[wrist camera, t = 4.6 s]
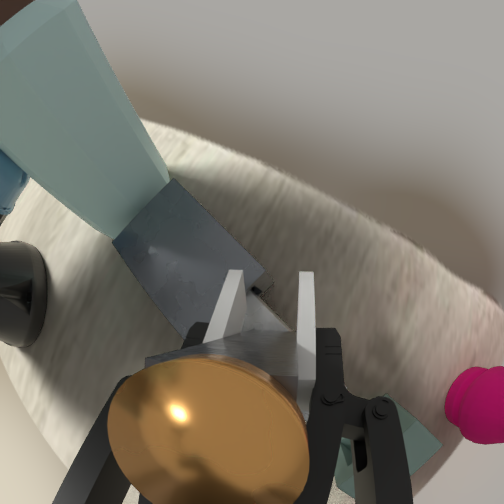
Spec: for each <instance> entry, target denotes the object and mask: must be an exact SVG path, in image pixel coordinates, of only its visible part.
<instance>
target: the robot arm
mask: <svg viewBox="0 0 504 504" xmlns="http://www.w3.org/2000/svg"><path fill="white" fill-rule="evenodd" d="M29 179H30V176H29V175H28V174H27V173H26V172H25V171H23V170H22V169H21V168H20V167H19V166H18V165H17V164H16V163H15V162H13V161H12V160H11V159H10V158H9V157H8V156H7V155H6V154H5V153H4V152H3V151H2V150H1V149H0V226H1V224H2V223H3V221H4V220H5V218H6V217H7V215H8V214H10V213H11V212H12V210H13V209H14V206H15V202H16V200H17V199H18V197H19V196H20V194H21V193H22V191H23V190H24V188H25V187H26V185H27V184H28V182H29ZM46 302H47V282H46V273H45V268H44V264H43V260H42V258H41V255H40V253H39V252H38V250H37V249H36V248H35V247H34V246H33V245H31V244H28V243H25V242H22V241H11V242H0V341H3V342H4V343H6V344H8V345H10V346H14V347H26V346H29V345H31V344H32V343H33V342H34V341H35V340H36V338H37V337H38V335H39V333H40V330H41V328H42V325H43V321H44V316H45V311H46ZM246 309H247V303H246V294H245V285H244V276H243V270H229V271H228V274H227V277H226V280H225V282H224V285H223V288H222V291H221V293H220V296H219V299H218V302H217V304H216V307H215V310H214V313H213V315H212V318H211V321H210V323H206V322H195V323H194V324H193V325H192V326H191V327H190V328H189V331H188V333H187V335H186V339H185V340H184V343H183V345H182V348H181V349H184V348H188V347H191V346H195V345H199V344H203V343H206V342H210V341H213V340H217V339H220V338H224V337H227V336H231V335H234V334H237V333H240V332H241V329H242V325H243V321H244V317H245V313H246ZM296 336H297V354H298V376H299V377H298V389H297V400H296V403H297V404H298V406H299V408H300V410H309V416H308V420H307V424H306V428H307V434H308V447H309V473H308V478H307V482H306V484H305V486H304V489H303V491H302V492H301V494H300V495H299V497H298V498H297V500H296V501H295V502H294V503H293V504H327V501H328V497H329V494H330V490H331V486H332V482H333V477H334V473H335V469H336V464H337V459H338V454H339V449H340V444H341V438H342V437H343V438H347V439H350V443H351V452H352V463H353V475H354V489H355V504H413V497H412V488H411V480H410V473H409V467H408V461H407V455H406V449H405V444H404V439H403V434H402V429H401V424H400V419H399V415H398V411H397V407H396V405H395V403H394V402H393V401H392V400H391V399H390V398H387V397H376V398H373V399H372V400H367V399H363V398H359V397H356V396H354V395H352V394H351V393H349V391H348V390H347V389H346V387H345V385H344V376H343V361H342V349H341V338H340V335H339V333H338V332H337V330H336V329H335V328H316V327H315V294H314V272H300V271H299V291H298V313H297V335H296ZM131 376H132V375H130V376H126V377H124V378H122V379H121V380H120V381H119V382H118V384H117V386H116V387H115V389H114V391H113V392H112V394H111V396H110V397H109V399H108V401H107V402H106V404H105V406H104V408H103V409H102V411H101V413H100V414H99V416H98V418H97V420H96V421H95V423H94V425H93V427H92V428H91V430H90V432H89V434H88V436H87V437H86V439H85V441H84V443H83V445H82V446H81V448H80V450H79V452H78V454H77V456H76V458H75V459H74V461H73V463H72V465H71V467H70V469H69V471H68V473H67V475H66V477H65V479H64V481H63V483H62V484H61V487H60V488H59V491H58V493H57V495H56V497H55V499H54V501H53V503H52V504H122V502H123V500H124V498H125V496H126V494H127V492H128V489H129V487H130V485H131V483H130V481H129V480H128V479H127V478H126V476H125V475H124V473H123V472H122V470H121V469H120V467H119V465H118V463H117V461H116V459H115V457H114V455H113V452H112V449H111V446H110V442H109V437H108V427H107V424H108V413H109V409H110V405H111V402H112V400H113V397H114V396H115V394H116V392H117V391H118V389H119V388H120V387H121V385H122V384H123V383H124V382H125V381H126V380H127V379H128V378H130V377H131ZM138 504H153V503H152V502H150V501H149V500H148V499H147V498H145V497H144V496H143V495H142V494H141V493H140V495H139V502H138Z"/></svg>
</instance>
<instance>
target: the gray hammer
mask: <svg viewBox="0 0 504 504" xmlns="http://www.w3.org/2000/svg"><path fill="white" fill-rule="evenodd" d="M246 303H247V309H246V313H245V317H244V321H243V325H242V329H241V332H240V333H237V334H234V335H231V336H227V337H224V338H220V339H217V340H213V341H210V342H206V343H203V344H199V345H195V346H191V347H188V348H184V349H180V350H176V351H172V352H168V353H164V354H160V355H156V356H151V357H147V358H145V369H142V370H141V371H139V372H137V373H135V374H133V375H132V376H131V377H130V378H128V379H127V380H126V381H125V382H124V383H123V384H122V385H121V387H120V388H119V389H118V391H117V392H116V394H115V396H114V397H113V400H112V402H111V405H110V409H109V413H108V424H107V427H108V437H109V442H110V446H111V449H112V452H113V455H114V457H115V459H116V461H117V463H118V465H119V467H120V469H121V470H122V472H123V473H124V475H125V476H126V478H127V479H128V480H129V481H130V483H131V484H132V485H133V486H134V487H135V488H136V489H137V490H138V491H139V492H140V493H141V494H142V495H143V496H144V497H145V498H147V499H148V500H149V501H150V502H152V503H153V504H293V503H294V502H295V501H296V500H297V498H298V497H299V495H300V494H301V492H302V491H303V489H304V486H305V484H306V482H307V478H308V473H309V447H308V434H307V428H306V423H305V420H306V421H307V420H308V416H309V410H300V408H299V406H298V404H297V403H296V400H297V389H298V377H299V376H298V354H297V336H296V331H292V330H291V329H290V328H289V327H288V326H287V325H286V324H285V323H284V322H283V321H282V320H281V319H280V318H279V317H278V316H277V315H276V314H275V313H274V312H273V311H272V310H271V308H270V307H269V306H268V305H267V304H266V303H265V302H264V301H263V300H262V299H261V298H260V297H259V296H258V295H257V294H256V293H255V292H254V291H253V290H252V289H250V290H249V291H248V292H247V293H246ZM344 385H345V384H344ZM345 387H346V385H345ZM346 389H347V387H346Z"/></svg>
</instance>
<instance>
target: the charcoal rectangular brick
mask: <svg viewBox="0 0 504 504" xmlns="http://www.w3.org/2000/svg"><path fill="white" fill-rule="evenodd" d="M112 243H113V245H114V246H115V248H116V249H117V251H118V252H119V254H120V255H121V257H122V258H123V260H124V261H125V263H126V264H127V266H128V267H129V268H130V270H131V271H132V273H133V274H134V276H135V277H136V278H137V280H138V281H139V283H140V284H141V285H142V287H143V288H144V289H145V291H146V292H147V294H148V295H149V296H150V298H151V299H152V300H153V302H154V303H155V304H156V305H157V307H158V308H159V309H160V311H161V312H162V313H163V314H164V316H165V317H166V318H167V320H168V321H169V322H170V323H171V325H172V326H173V327H174V328H175V329H176V331H177V332H178V333H179V334H180V335H181V337H182V338H183V339H184V340H185V339H186V335H187V333H188V331H189V328H190V327H191V326H192V325H193V324H194V323H195V322H206V323H210V321H211V318H212V315H213V313H214V310H215V307H216V304H217V302H218V299H219V296H220V293H221V291H222V288H223V285H224V282H225V280H226V277H227V274H228V271H229V270H243V276H244V285H245V294H246V293H247V292H248V291H249V290H250V289H252V290H253V291H254V292H255V293H256V294H257V295H258V296H259V297H260V296H261V295H262V294H263V293H264V292H265V291H266V290H267V289H268V288H269V287H270V286H271V285H272V284H273V283H274V282H273V280H272V279H271V277H270V276H269V274H268V273H267V271H266V270H265V269H264V268H263V267H262V266H261V265H260V264H259V263H258V262H257V261H256V260H255V259H254V258H253V257H252V256H251V255H250V254H249V253H248V252H247V251H246V250H245V249H244V248H243V247H242V246H241V245H240V244H239V243H238V242H237V241H236V240H235V239H234V238H233V237H232V236H231V235H230V234H229V233H228V232H227V231H226V230H225V229H224V228H223V227H222V226H221V225H220V224H219V223H218V222H217V221H216V220H215V219H214V218H213V217H212V216H211V215H210V214H209V213H208V212H207V211H206V210H205V209H204V208H203V207H202V206H201V205H200V204H199V203H198V202H197V201H196V200H195V199H194V198H193V197H192V196H191V195H190V194H189V193H188V192H187V191H186V190H185V189H184V188H183V187H182V186H181V185H180V184H179V183H178V182H177V181H176V180H175V179H174V178H173V179H172V180H171V181H170V182H169V183H168V184H167V185H166V186H164V187H163V188H162V189H161V190H160V191H159V192H158V193H157V194H156V195H155V196H154V197H153V198H152V199H151V200H150V202H149V203H148V204H147V205H146V206H145V207H144V208H143V209H142V210H141V211H140V212H139V213H138V214H137V215H136V216H135V217H134V218H133V219H132V220H131V222H130V223H129V224H128V225H127V226H126V227H125V228H124V229H123V230H122V231H121V233H120V234H119V235H118V236H117V237H116V238H115V239H114V240H113V242H112Z"/></svg>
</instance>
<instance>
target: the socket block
mask: <svg viewBox="0 0 504 504" xmlns="http://www.w3.org/2000/svg"><path fill="white" fill-rule="evenodd" d="M383 397H387V398H390V399H391V400H392V401H393V402H394V403H395V405H396V407H397V411H398V415H399V419H400V424H401V429H402V434H403V439H404V444H405V449H406V455H407V461H408V467H409V473H410V476H411V475H412V474H413V473H415V472H416V471H417V470H418V469H419V468H420V467H421V466H422V465H423V464H424V463H426V462H427V461H428V460H429V459H430V458H431V457H432V456H433V455H434V454H435V453H436V452H437V451H438V450H439V449H440V448H441V447H442V446H443V444H442V443H441V442H440V441H439V440H438V439H437V438H436V437H435V436H434V435H432V434H431V433H430V432H429V431H428V430H427V429H426V428H425V427H424V426H423V425H422V424H421V423H420V422H419V421H418V420H417V419H416V418H415V417H414V416H412V415H411V414H410V413H409V412H408V411H406V410H405V409H404V408H403V407H402V406H400V405H399V404H398V403H397V402H396V401H394V400H393V399H392V398H391V397H390V396H389V395H387V394H385V395H384V396H383ZM334 475H335V480H336V485H337V487H338V488H339V489H340V490H342V491H343V492H345V493H346V494H348V495H349V496H351V497H352V498H354V499H355V489H354V475H353V463H352V452H351V443H350V439H347V438H343V437H342V438H341V444H340V449H339V454H338V459H337V464H336V469H335V473H334Z"/></svg>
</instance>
